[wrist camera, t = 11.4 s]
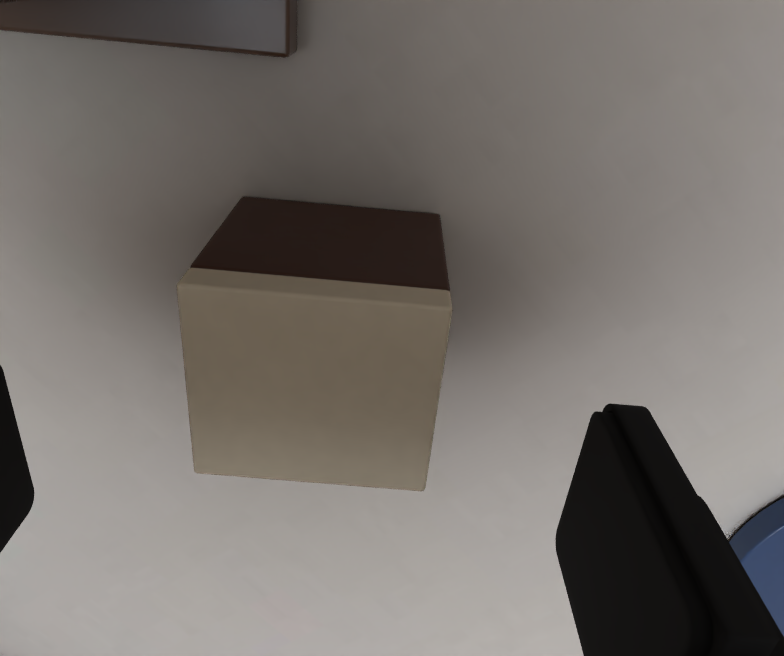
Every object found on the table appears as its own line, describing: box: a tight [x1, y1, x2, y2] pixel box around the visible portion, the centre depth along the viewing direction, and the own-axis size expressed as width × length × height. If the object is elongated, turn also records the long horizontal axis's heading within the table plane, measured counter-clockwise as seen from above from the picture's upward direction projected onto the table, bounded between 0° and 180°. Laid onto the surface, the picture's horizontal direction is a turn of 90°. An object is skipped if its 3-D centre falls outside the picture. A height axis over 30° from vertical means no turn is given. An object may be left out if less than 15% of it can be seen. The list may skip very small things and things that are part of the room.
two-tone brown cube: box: [177, 197, 453, 491], centre depth 13 cm, size 4×4×4 cm
